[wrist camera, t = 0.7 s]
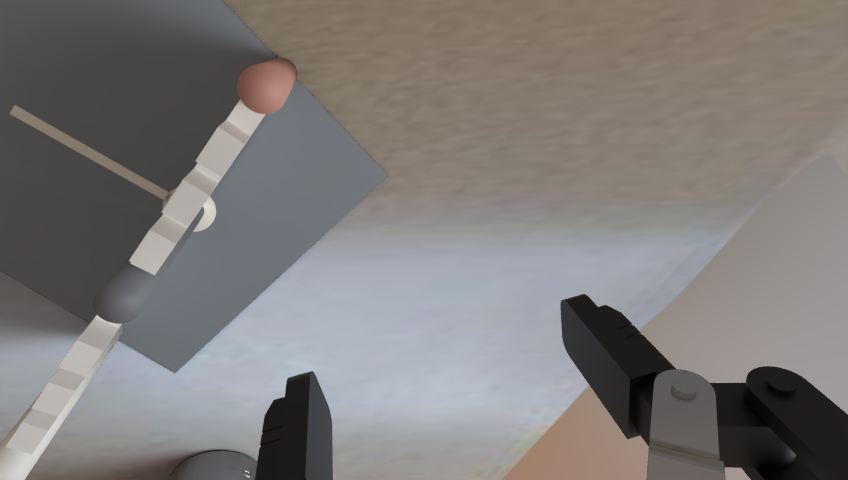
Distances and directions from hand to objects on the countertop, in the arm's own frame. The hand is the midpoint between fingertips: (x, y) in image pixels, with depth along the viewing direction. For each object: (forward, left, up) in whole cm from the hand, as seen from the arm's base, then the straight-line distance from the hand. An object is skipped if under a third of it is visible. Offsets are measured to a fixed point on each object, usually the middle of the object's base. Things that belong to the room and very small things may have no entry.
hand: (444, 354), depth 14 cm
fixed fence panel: (-18, +6, -24) cm, 30 cm away
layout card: (-12, +11, -24) cm, 29 cm away
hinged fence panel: (-4, +8, -23) cm, 25 cm away
